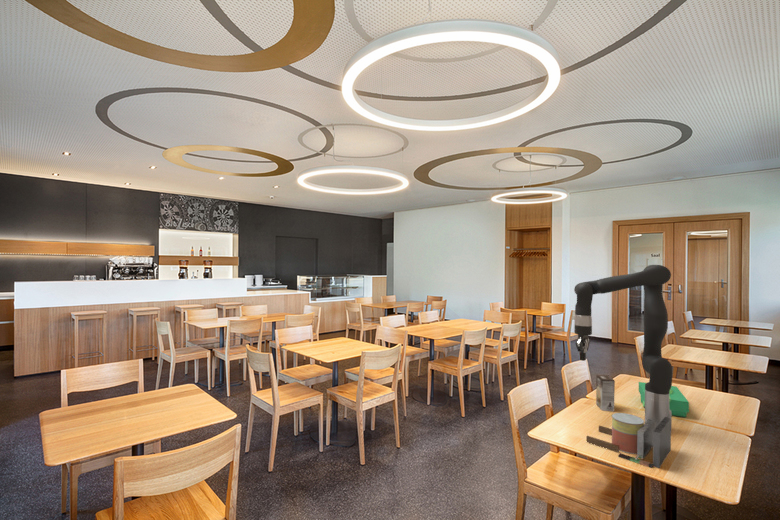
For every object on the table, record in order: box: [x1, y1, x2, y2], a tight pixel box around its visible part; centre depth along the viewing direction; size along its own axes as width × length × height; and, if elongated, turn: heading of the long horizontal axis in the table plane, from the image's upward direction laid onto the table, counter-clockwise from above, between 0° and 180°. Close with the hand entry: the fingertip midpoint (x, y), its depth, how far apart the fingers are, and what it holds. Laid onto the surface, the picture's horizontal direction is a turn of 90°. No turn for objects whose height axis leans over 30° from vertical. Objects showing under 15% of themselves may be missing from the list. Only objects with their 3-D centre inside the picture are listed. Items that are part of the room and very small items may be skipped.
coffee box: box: [595, 374, 616, 412], centre depth 201 cm, size 9×6×16 cm
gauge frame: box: [586, 417, 672, 469], centre depth 157 cm, size 26×22×13 cm
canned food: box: [611, 412, 645, 455], centre depth 157 cm, size 11×11×12 cm
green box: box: [638, 381, 690, 418], centre depth 200 cm, size 18×12×35 cm
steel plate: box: [634, 419, 655, 460], centre depth 152 cm, size 2×21×10 cm, turn 134°
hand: (582, 360), depth 184 cm, fingers closed
